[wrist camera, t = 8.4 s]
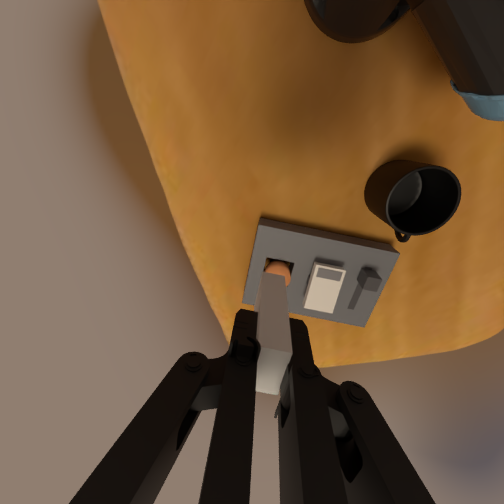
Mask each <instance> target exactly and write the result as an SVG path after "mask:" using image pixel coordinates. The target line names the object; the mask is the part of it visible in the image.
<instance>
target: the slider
mask: <svg viewBox="0 0 504 504" xmlns="http://www.w3.org/2000/svg"><path fill="white" fill-rule="evenodd" d="M357 281H358V283H359V284H360V286H361V288H362V289H364V290H368V291H373V292H377V290H378V288H379V286H380V284H381V282H382V279H381V277H380V276H379V275H378V273H377V272H376V271H374V270H369V269H364V268H362V269H361V271H360V274H359V276H358V278H357Z"/></svg>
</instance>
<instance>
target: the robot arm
mask: <svg viewBox="0 0 504 504" xmlns="http://www.w3.org/2000/svg"><path fill="white" fill-rule="evenodd" d="M304 2H305V5H306V8H307V10H308V12H309V15H310V16H311V18H312V20H313V21H314V23H315V24H316V25H317V27H318V28H319V29H320V30H321V31H322V32H323V33H325V34H326V35H327V36H329V37H330V38H332V39H334V40H337V41H340V42H345V43H360V42H364V41H368V40H371V39H373V38H375V37H377V36H379V35H381V34H383V33H384V32H386V31H387V30H388V29H390V28H391V27H392V26H393V25H394V24H395V23H396V22H397V21H399V20H400V19H401V18H402V17H403V16H404V15H405V14H406V13H407V11H408V10H409V9H410V8H411V10H412V12H413V14H414V16H415V18H416V19H417V21H418V23H419V24H420V26H421V28H422V30H423V31H424V33H425V35H426V37H427V38H428V40H429V42H430V43H431V45H432V47H433V49H434V50H435V52H436V54H437V56H438V57H439V59H440V61H441V62H442V64H443V66H444V68H445V69H446V71H447V73H448V75H449V76H450V78H451V81H450V83H451V86H452V88H453V90H454V91H455V92H456V93H458V94H459V95H460V96H462V98H463V99H464V101H465V102H466V104H467V105H468V107H469V108H470V110H471V111H472V112H473V113H474V114H475V115H478V116H480V117H482V118H484V119H487V120H493V121H504V0H304ZM308 335H309V334H308V329H307V326H306V325H305V323H304V322H303V320H298V319H293V318H289V313H288V303H287V293H286V283H285V276H283V275H278V274H273V273H268V272H262V276H261V280H260V284H259V288H258V293H257V297H256V301H255V306H254V311H250V310H245V309H240V310H239V311H238V312H237V313H236V316H235V321H234V326H233V331H232V336H231V341H230V346H229V350H228V351H227V353H226V354H225V355H223V356H221V357H219V358H215V359H208V358H207V357H206V356H205V355H204V354H202V353H199V352H188V353H186V354H183V355H182V356H181V357H180V358H179V359H178V361H177V362H176V363H175V364H174V366H173V367H172V368H171V370H170V371H169V372H168V374H167V375H166V376H165V378H164V379H163V380H162V382H161V383H160V384H159V386H158V387H157V388H156V390H155V391H154V392H153V393H152V395H151V396H150V397H149V399H148V400H147V401H146V403H145V404H144V405H143V407H142V408H141V409H140V411H139V412H138V413H137V415H136V416H135V417H134V419H133V420H132V421H131V422H130V424H129V425H128V426H127V428H126V429H125V430H124V432H123V433H122V434H121V436H120V437H119V438H118V439H117V441H116V442H115V443H114V445H113V446H112V447H111V449H110V450H109V452H108V453H107V454H106V455H105V457H104V458H103V459H102V461H101V462H100V463H99V465H98V466H97V467H96V468H95V470H94V471H93V472H92V474H91V475H90V476H89V478H88V479H87V480H86V482H85V483H84V484H83V486H82V487H81V488H80V490H79V491H78V492H77V494H76V495H75V496H74V497H73V499H72V500H71V501H70V503H69V504H153V503H154V501H155V499H156V497H157V495H158V494H159V492H160V490H161V488H162V486H163V484H164V481H165V480H166V478H167V476H168V474H169V472H170V470H171V469H172V467H173V465H174V463H175V461H176V459H177V457H178V455H179V453H180V451H181V449H182V447H183V445H184V443H185V442H186V440H187V438H188V436H189V434H190V432H191V430H192V428H193V426H194V424H195V422H196V420H197V419H198V417H199V415H200V413H201V411H202V410H208V409H214V408H217V412H216V416H215V421H214V427H213V432H212V437H211V442H210V447H209V453H208V457H207V462H206V467H205V473H204V478H203V483H202V489H201V493H200V498H199V503H198V504H249V498H250V481H251V465H252V447H253V430H254V411H255V394H256V391H258V392H264V393H268V394H274V395H278V393H279V390H280V389H281V390H280V392H281V398H280V401H279V403H278V406H277V409H276V412H275V416H274V418H277V415H278V429H279V430H278V431H279V474H280V504H435V502H434V500H433V499H432V497H431V495H430V494H429V492H428V490H427V489H426V487H425V485H424V484H423V482H422V481H421V479H420V477H419V476H418V474H417V472H416V471H415V469H414V467H413V466H412V464H411V462H410V461H409V459H408V457H407V456H406V454H405V452H404V451H403V449H402V447H401V446H400V444H399V443H398V441H397V439H396V438H395V436H394V434H393V433H392V431H391V429H390V428H389V426H388V424H387V423H386V421H385V419H384V418H383V416H382V414H381V413H380V411H379V410H378V408H377V407H376V405H375V403H374V401H373V400H372V398H371V396H370V395H369V393H368V392H367V391H366V390H365V389H364V388H363V387H362V386H361V385H359V384H357V383H355V382H352V381H345V382H343V383H342V384H341V385H338V384H336V383H334V382H332V381H330V380H328V379H326V378H325V377H323V376H322V375H321V372H320V370H319V369H318V367H317V366H316V365H315V364H314V360H313V355H312V350H311V345H310V339H309V336H308Z"/></svg>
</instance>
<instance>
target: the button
mask: <svg viewBox="0 0 504 504" xmlns="http://www.w3.org/2000/svg"><path fill="white" fill-rule="evenodd" d="M265 272H268V273H273V274H278V275H283V276H285V283H286V287H287V286H288V285H289V283H290V280H291V276H290V270H289V267H288V265H287V264H286V263H284V262H283V260H278V259H272V260H271V263H269V264H268V265H267V266H266V269H265Z"/></svg>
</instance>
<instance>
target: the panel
mask: <svg viewBox="0 0 504 504" xmlns="http://www.w3.org/2000/svg"><path fill="white" fill-rule="evenodd" d="M399 255H400V253H399V252H398V251H397V250H395V249H394V248H393V247H392V246H391V245H390V244H385V243H380V242H375V241H371V240H366V239H361V238H356V237H351V236H346V235H341V234H337V233H332V232H327V231H322V230H317V229H312V228H307V227H303V226H298V225H293V224H288V223H283V222H278V221H273V220H269V219H264V218H260V219H259V224H258V228H257V233H256V238H255V243H254V247H253V252H252V257H251V261H250V266H249V271H248V275H247V280H246V285H245V290H244V295H243V301H242V303H245V304H250V305H255V301H256V297H257V293H258V288H259V284H260V280H261V276H262V272H265V271H263V270H264V266H265V262H266V258H267V257H268V258H273V259H278V260H283V261H288V262H290V265H289V270H290V276H291V280H290V283H289V285H288V286H287V287H286V293H287V303H288V312H290V313H295V314H300V315H305V316H310V317H315V318H320V319H325V320H330V321H335V322H340V323H345V324H350V325H355V326H360V327H365V325H366V323H367V321H368V319H369V317H370V315H371V313H372V311H373V309H374V306H375V304H376V302H377V300H378V298H379V296H380V294H381V292H382V290H383V288H384V286H385V284H386V282H387V280H388V278H389V276H390V274H391V272H392V269H393V267H394V265H395V263H396V261H397V259H398V257H399ZM314 262H319V263H323V264H328V265H333V266H338V267H343V268H344V269H345V270H346V273H345V276H344V279H343V282H342V285H341V288H340V291H339V294H338V298H337V301H336V304H335V307H334V310H333V313H327V312H322V311H317V310H312V309H307V308H304V306H303V300H304V297H305V293H306V290H307V286H308V283H309V279H310V275H311V272H312V268H313V265H314ZM362 268H364V269H369V270H374V271H376V272H377V273H378V275H379V276H380V277H381V279H382V282H381V284H380V286H379V288H378V290H377V292H373V291H368V290H364V289H362V288H361V286H360V284H359V283H358V281H357V278H358V276H359V274H360V271H361V269H362Z"/></svg>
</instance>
